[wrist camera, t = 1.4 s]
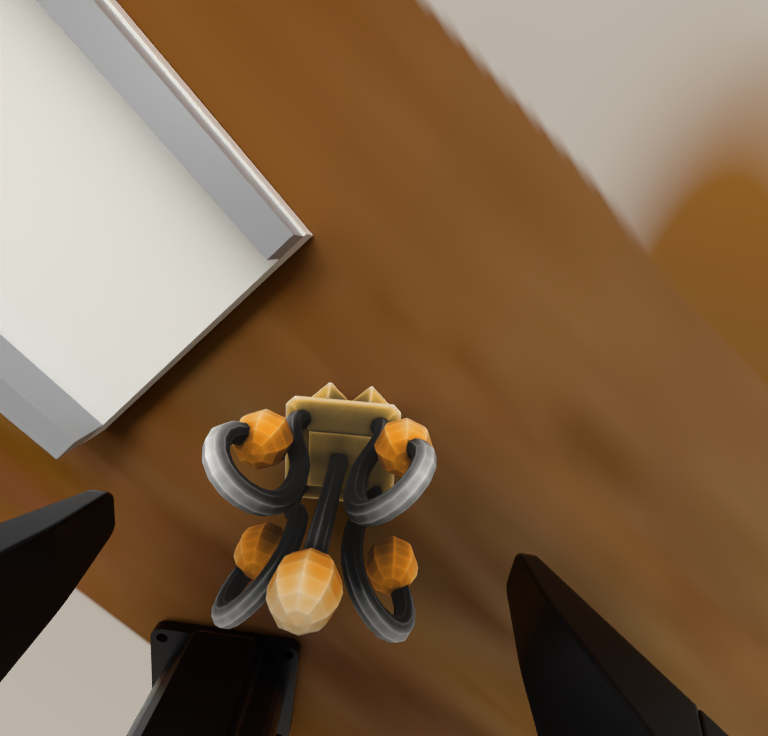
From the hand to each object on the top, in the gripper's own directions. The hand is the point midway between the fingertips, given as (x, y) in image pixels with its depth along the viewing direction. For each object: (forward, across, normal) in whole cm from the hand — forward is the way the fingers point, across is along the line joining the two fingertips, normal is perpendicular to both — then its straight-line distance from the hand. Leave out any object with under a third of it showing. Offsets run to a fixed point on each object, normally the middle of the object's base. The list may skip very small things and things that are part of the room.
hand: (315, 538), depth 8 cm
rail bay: (+6, +10, -6) cm, 13 cm away
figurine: (+6, 0, 0) cm, 6 cm away
